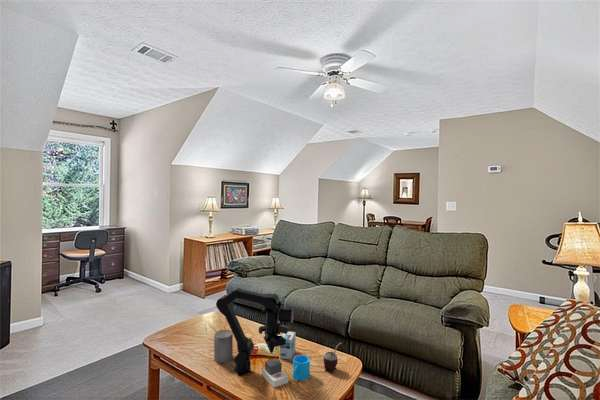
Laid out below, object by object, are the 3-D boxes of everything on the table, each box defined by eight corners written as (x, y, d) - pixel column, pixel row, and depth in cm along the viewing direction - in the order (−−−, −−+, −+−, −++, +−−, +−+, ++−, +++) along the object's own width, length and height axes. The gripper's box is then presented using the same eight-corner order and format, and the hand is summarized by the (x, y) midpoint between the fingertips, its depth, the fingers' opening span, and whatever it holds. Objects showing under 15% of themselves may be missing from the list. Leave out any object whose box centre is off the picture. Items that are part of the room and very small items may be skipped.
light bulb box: (291, 360, 169) (291, 340, 169) (279, 358, 170) (279, 338, 170) (295, 350, 179) (295, 331, 179) (284, 349, 181) (284, 330, 181)
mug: (297, 369, 160) (298, 353, 160) (312, 374, 156) (312, 357, 156) (286, 381, 149) (286, 364, 149) (301, 386, 145) (301, 369, 145)
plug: (270, 380, 149) (270, 366, 149) (264, 374, 154) (264, 361, 153) (281, 376, 152) (281, 363, 152) (275, 371, 157) (276, 358, 157)
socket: (273, 387, 144) (273, 379, 144) (262, 375, 154) (262, 367, 154) (288, 382, 148) (288, 375, 148) (275, 370, 158) (275, 363, 158)
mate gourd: (321, 367, 161) (321, 338, 161) (334, 364, 165) (334, 336, 165) (328, 375, 155) (328, 345, 154) (341, 372, 158) (342, 342, 158)
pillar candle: (223, 352, 176) (223, 325, 176) (236, 357, 171) (236, 329, 171) (210, 360, 168) (210, 332, 167) (223, 365, 163) (223, 336, 162)
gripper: (295, 324, 151) (295, 356, 151) (277, 311, 166) (277, 341, 167) (275, 329, 145) (274, 362, 145) (258, 315, 161) (257, 346, 161)
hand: (271, 352), depth 154 cm, fingers closed
